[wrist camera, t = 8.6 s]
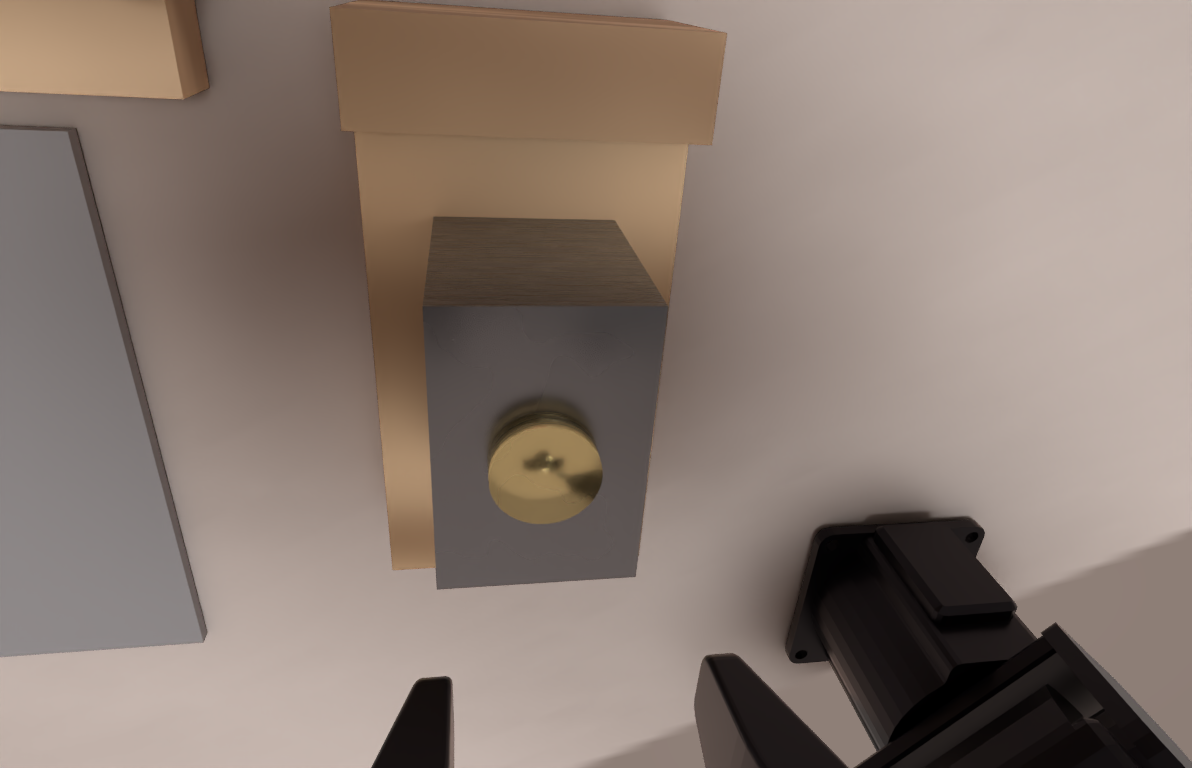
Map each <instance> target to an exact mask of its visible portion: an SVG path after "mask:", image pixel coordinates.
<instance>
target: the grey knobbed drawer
mask: <svg viewBox="0 0 1192 768" xmlns="http://www.w3.org/2000/svg"><path fill="white" fill-rule="evenodd" d="M422 308H423V327H424V347H425V367H426V386H427V406H428V426H429V445H430V465H431V485H432V504H433V524H434V544H435V563H436V583H437V589H452V588H467V587H483V586H499V585H515V584H530V583H546V582H562V581H578V580H593V579H609V578H625V577H636V569H637V561H638V553H639V544H640V536H641V528H642V520H643V511H644V503H645V495H646V487H647V478H648V470H649V462H650V454H651V445H652V437H653V429H654V421H655V412H656V404H657V396H658V387H659V379H660V371H661V363H662V354H663V346H664V338H665V330H666V321H667V313H668V305H667V303H666V302H665V300H664V299H663V297H662V295H661V294H660V292H659V290H658V289H657V287H656V286H655V284H654V282H653V281H652V279H651V278H650V276H649V274H648V273H647V271H646V269H645V268H644V266H643V265H642V263H641V261H640V260H639V258H638V257H637V255H636V253H635V252H634V250H633V248H632V247H631V245H630V244H629V242H628V240H627V239H626V237H625V236H624V234H623V232H622V231H621V229H620V227H619V226H618V224H617V223H616V221H615V220H587V219H537V218H487V217H437V216H433V224H432V233H431V241H430V249H429V257H428V265H427V273H426V281H425V290H424V298H423V306H422Z"/></svg>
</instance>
